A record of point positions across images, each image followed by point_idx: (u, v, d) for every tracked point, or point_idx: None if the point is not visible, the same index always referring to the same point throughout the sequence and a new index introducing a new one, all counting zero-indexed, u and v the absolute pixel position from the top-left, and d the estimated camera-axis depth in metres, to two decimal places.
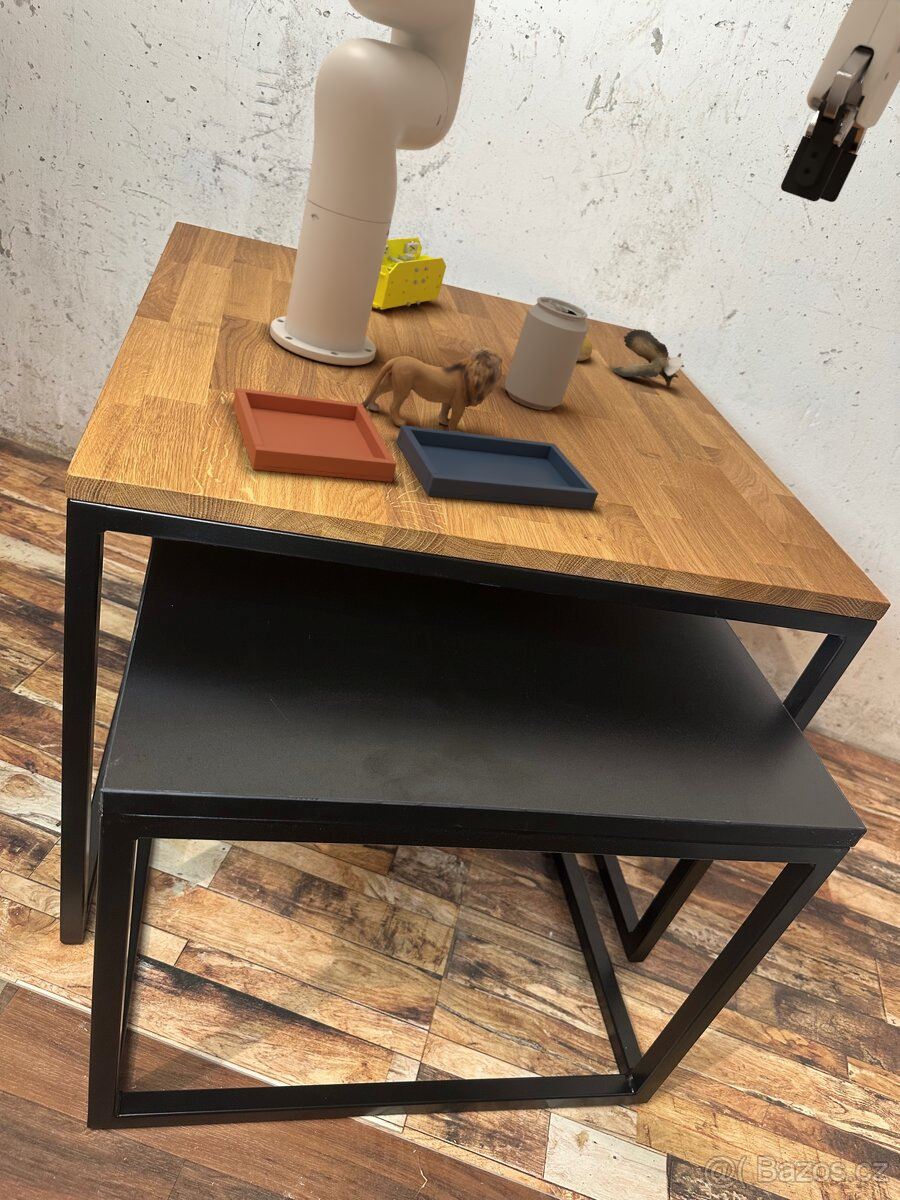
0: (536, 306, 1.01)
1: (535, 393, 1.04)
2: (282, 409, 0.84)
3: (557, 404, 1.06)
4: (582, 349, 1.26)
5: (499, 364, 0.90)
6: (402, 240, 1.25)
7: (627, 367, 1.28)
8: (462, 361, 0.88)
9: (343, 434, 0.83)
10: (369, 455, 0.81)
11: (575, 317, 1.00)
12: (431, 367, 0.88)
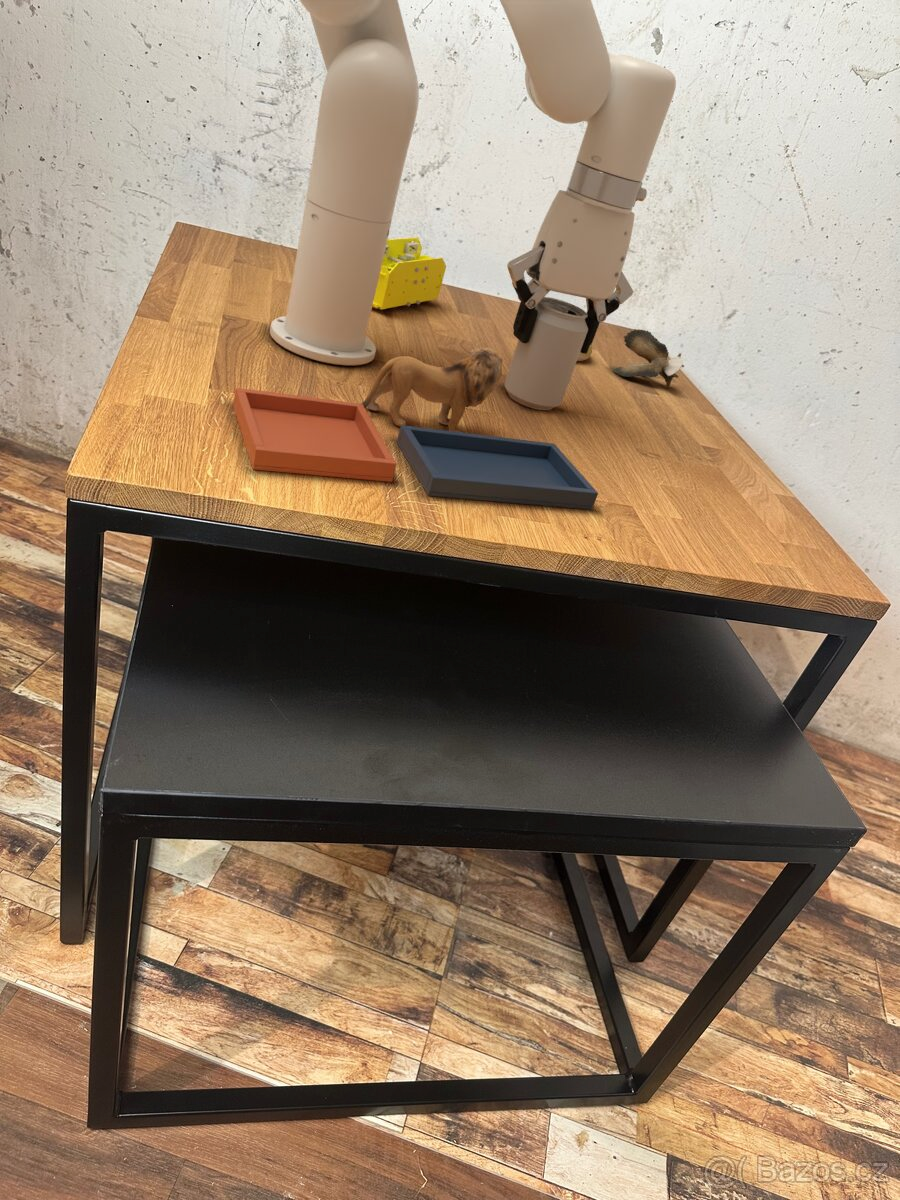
0: (536, 306, 1.01)
1: (535, 393, 1.04)
2: (282, 409, 0.84)
3: (557, 404, 1.06)
4: None
5: (499, 364, 0.90)
6: (402, 240, 1.25)
7: (627, 367, 1.28)
8: (462, 361, 0.88)
9: (343, 434, 0.83)
10: (369, 455, 0.81)
11: (575, 317, 1.00)
12: (431, 367, 0.88)
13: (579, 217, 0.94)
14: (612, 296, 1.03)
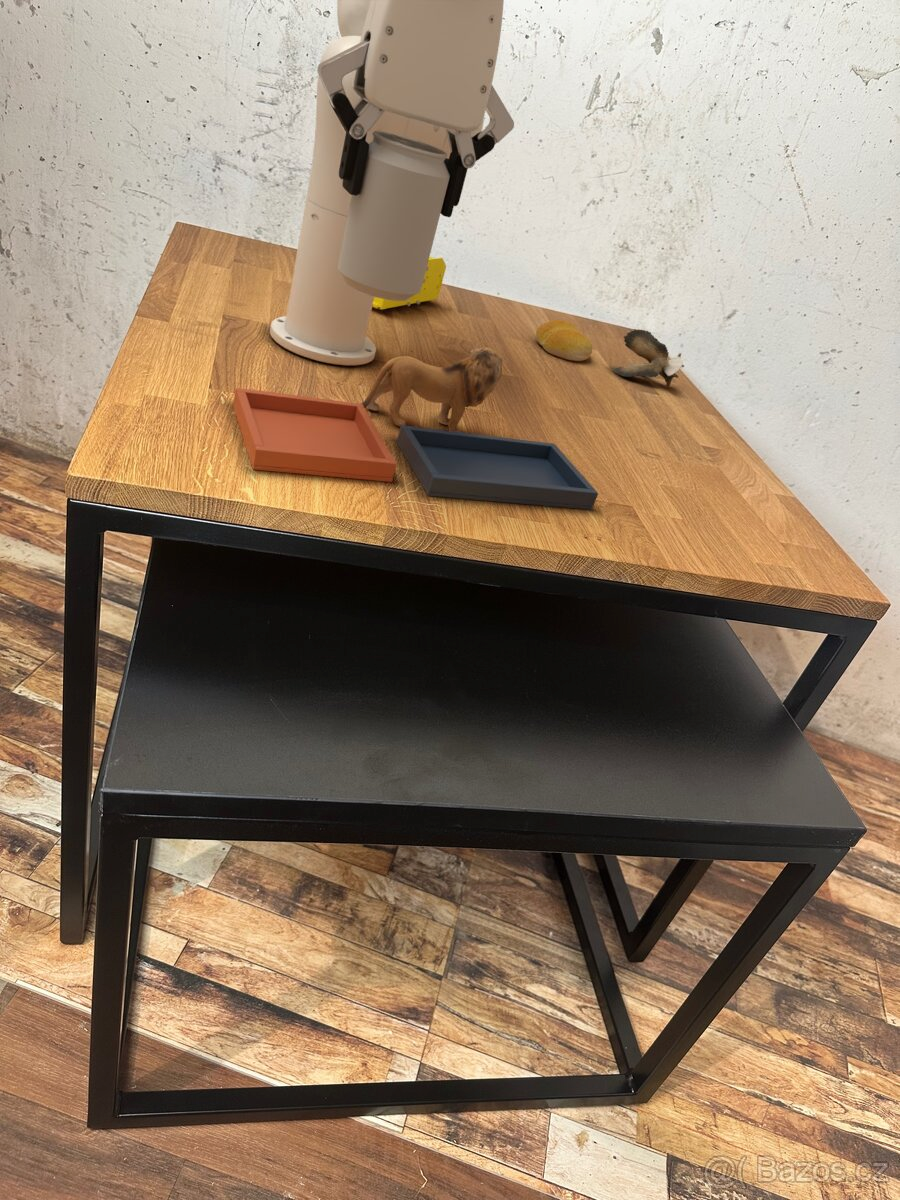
0: None
1: (376, 272, 0.72)
2: (282, 409, 0.84)
3: (412, 292, 0.74)
4: (582, 349, 1.26)
5: (499, 364, 0.90)
6: None
7: (627, 367, 1.28)
8: (462, 361, 0.88)
9: (343, 434, 0.83)
10: (369, 455, 0.81)
11: (425, 153, 0.68)
12: (431, 367, 0.88)
13: None
14: (484, 131, 0.71)
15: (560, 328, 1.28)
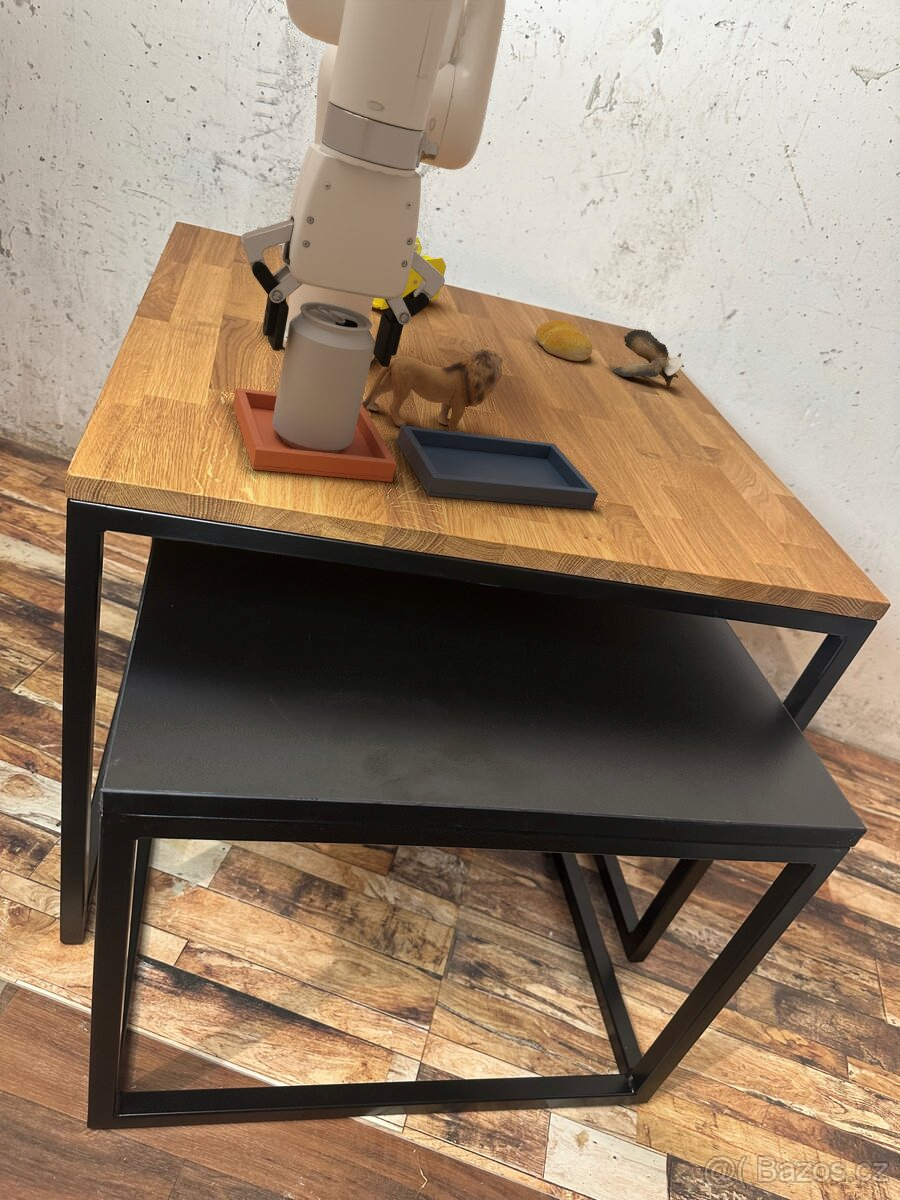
0: (299, 314, 0.74)
1: (305, 432, 0.76)
2: None
3: (341, 447, 0.78)
4: (582, 349, 1.26)
5: (499, 364, 0.90)
6: None
7: (627, 367, 1.28)
8: (462, 361, 0.88)
9: None
10: (369, 455, 0.81)
11: (348, 330, 0.72)
12: (431, 367, 0.88)
13: (333, 181, 0.66)
14: (419, 289, 0.75)
15: (560, 328, 1.28)
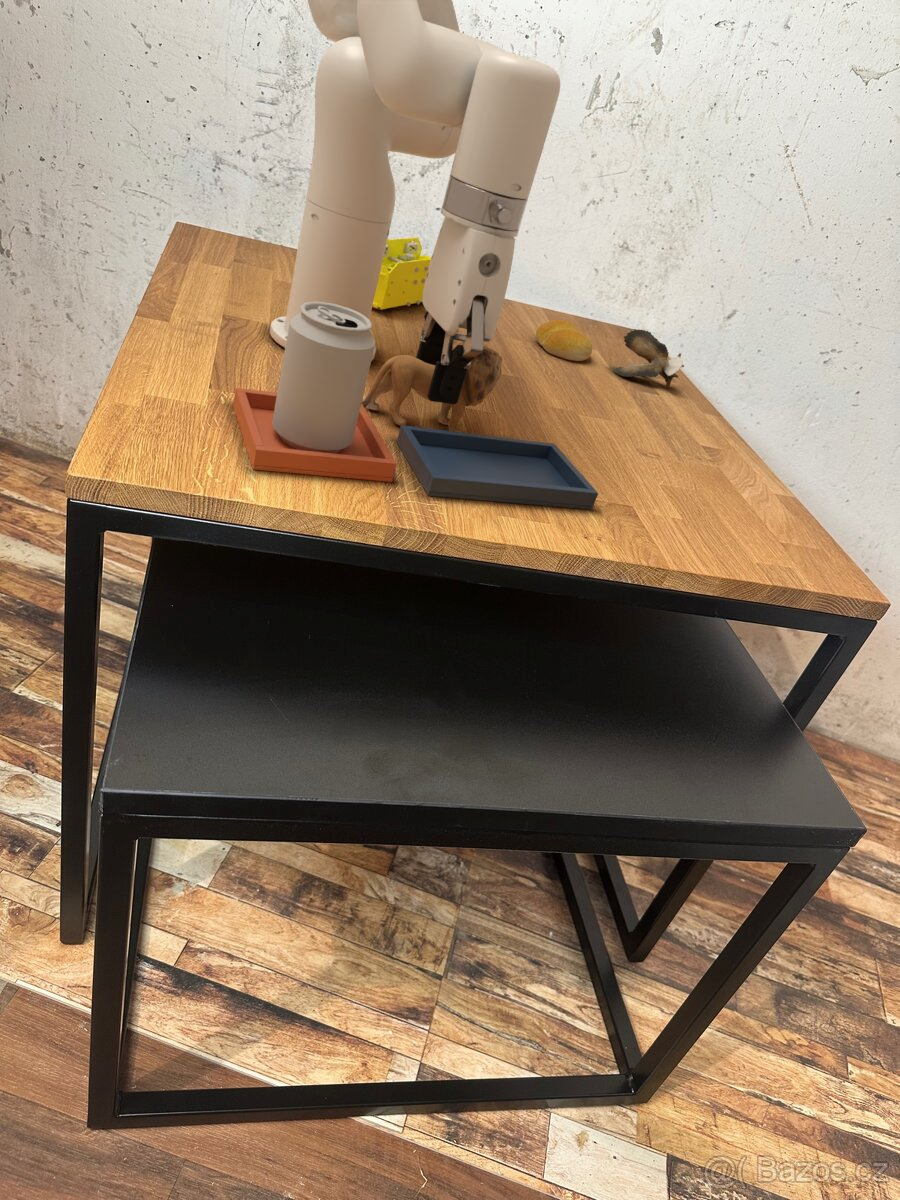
0: (299, 314, 0.74)
1: (305, 432, 0.76)
2: None
3: (341, 447, 0.78)
4: (582, 349, 1.26)
5: (499, 363, 0.90)
6: (402, 240, 1.25)
7: (627, 367, 1.28)
8: None
9: None
10: (369, 455, 0.81)
11: (348, 330, 0.72)
12: (431, 366, 0.88)
13: (443, 226, 0.84)
14: None
15: (560, 328, 1.28)
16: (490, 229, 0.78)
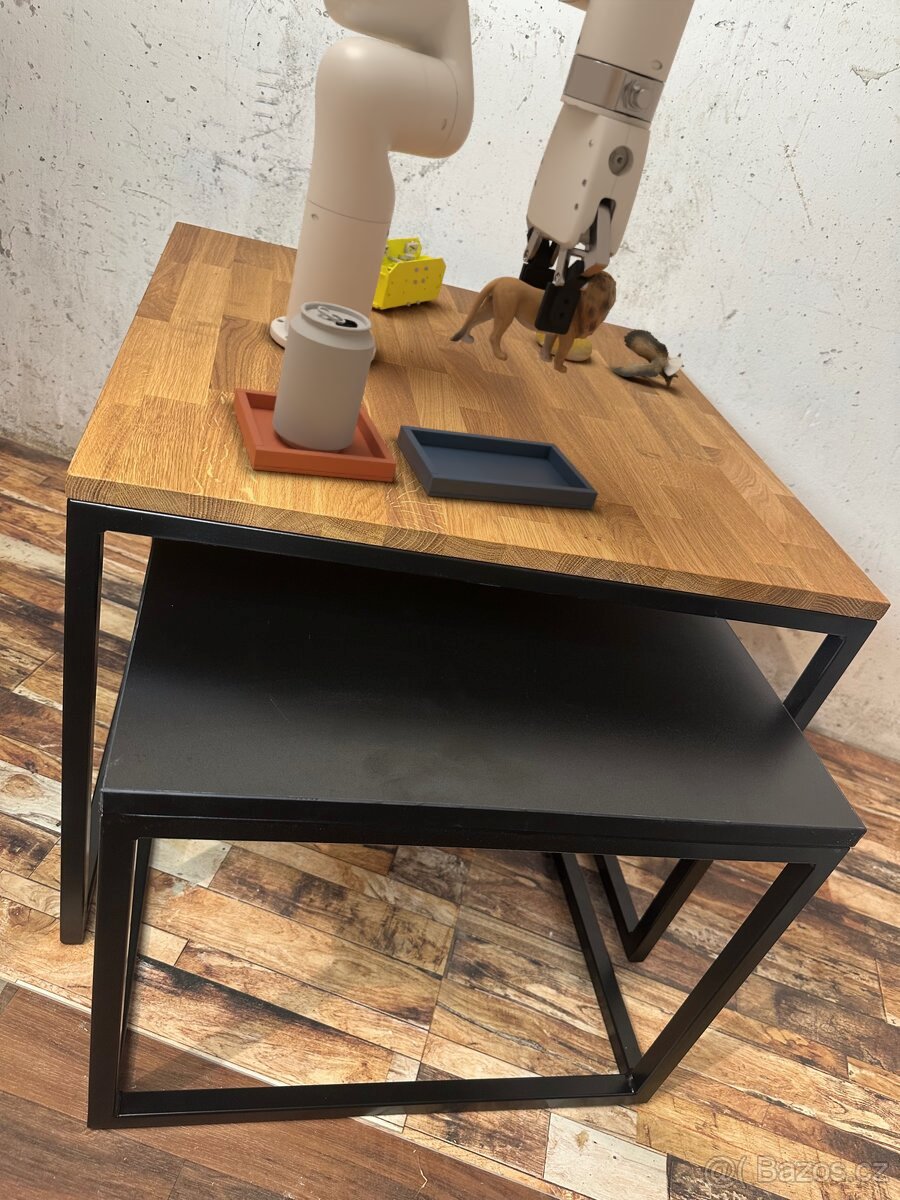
0: (299, 314, 0.74)
1: (305, 432, 0.76)
2: None
3: (341, 447, 0.78)
4: (582, 349, 1.26)
5: (614, 288, 0.78)
6: (402, 240, 1.25)
7: (627, 367, 1.28)
8: None
9: None
10: (369, 455, 0.81)
11: (348, 330, 0.72)
12: (538, 290, 0.76)
13: (558, 122, 0.71)
14: None
15: None
16: (623, 117, 0.66)
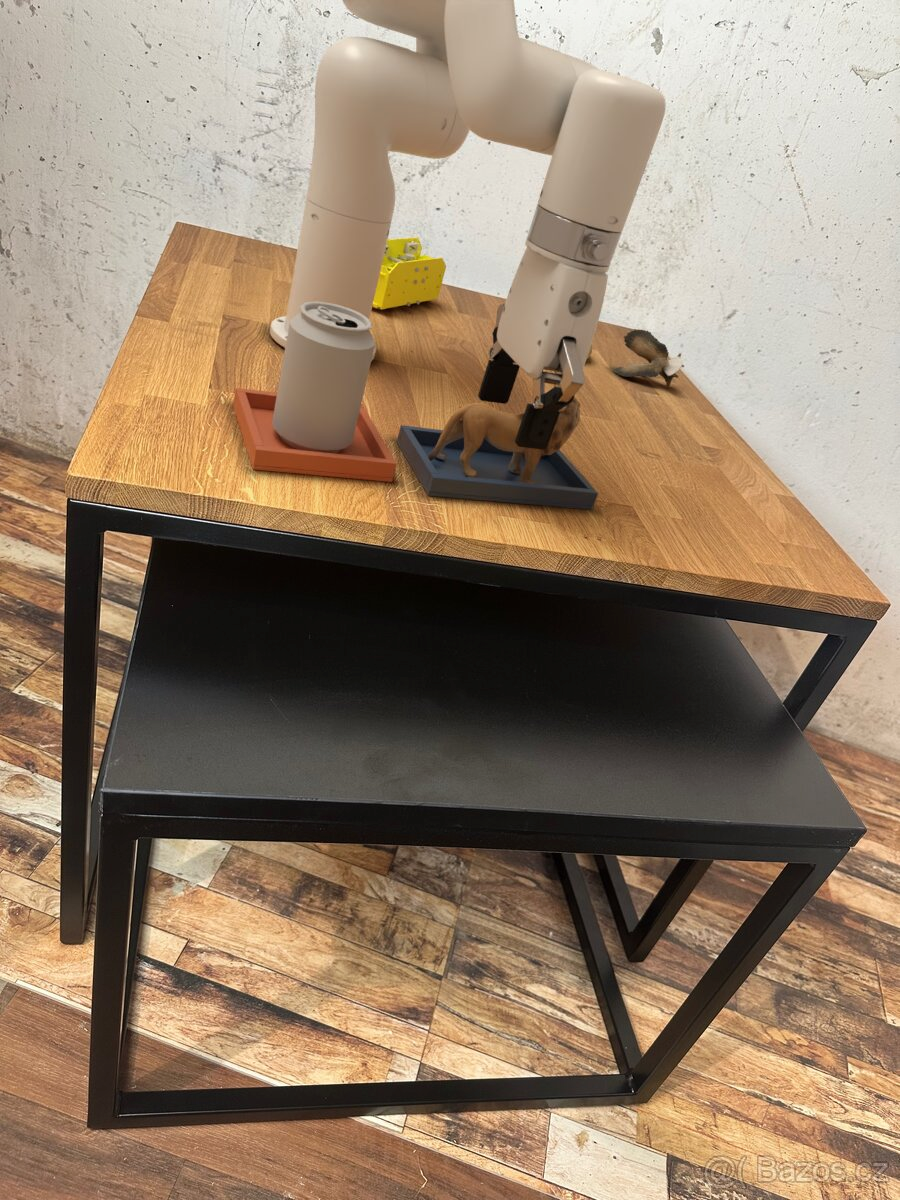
0: (299, 314, 0.74)
1: (305, 432, 0.76)
2: None
3: (341, 447, 0.78)
4: None
5: (577, 410, 0.83)
6: (402, 240, 1.25)
7: (627, 367, 1.28)
8: None
9: None
10: (369, 455, 0.81)
11: (348, 330, 0.72)
12: (505, 414, 0.81)
13: (524, 259, 0.77)
14: None
15: None
16: (582, 265, 0.72)
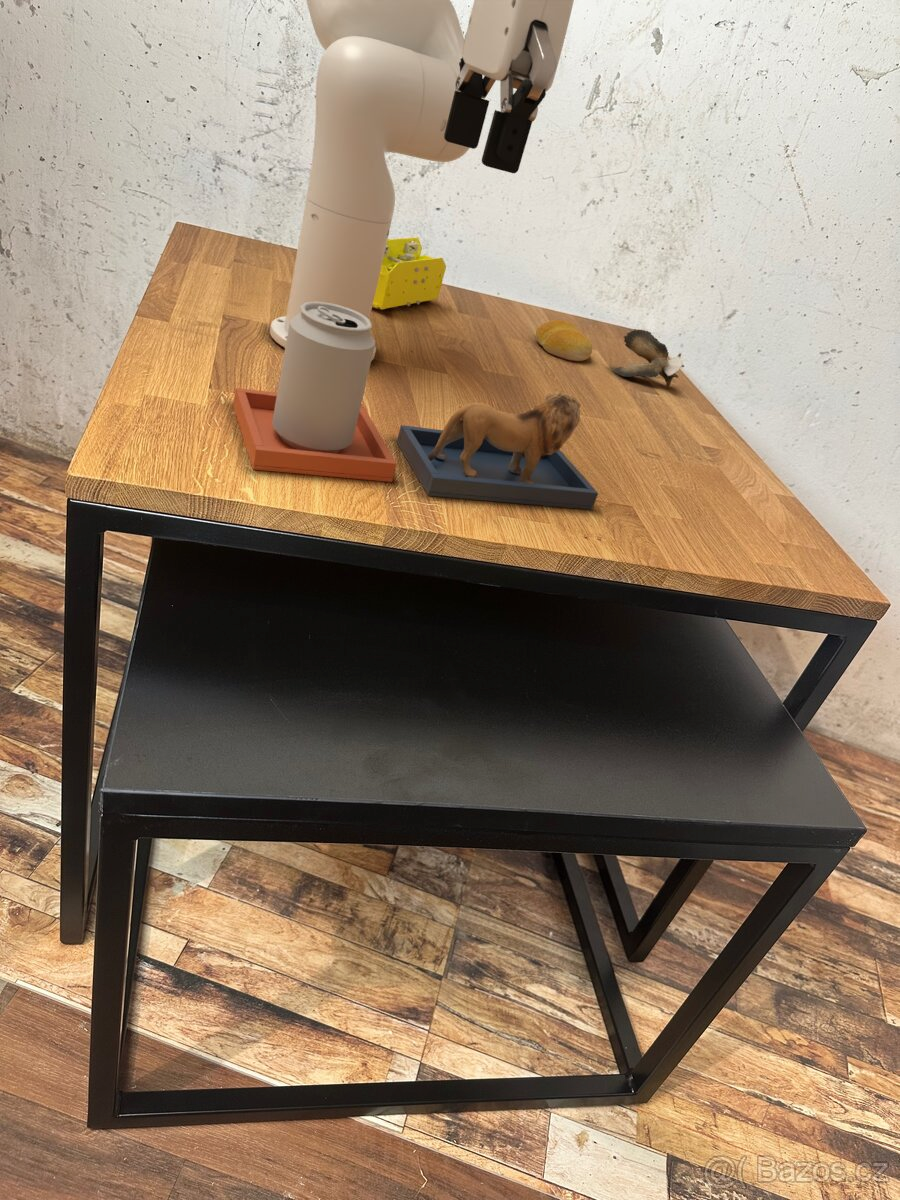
0: (299, 314, 0.74)
1: (305, 432, 0.76)
2: None
3: (341, 447, 0.78)
4: (582, 349, 1.26)
5: (577, 410, 0.83)
6: (402, 240, 1.25)
7: (627, 367, 1.28)
8: (539, 408, 0.82)
9: None
10: (369, 455, 0.81)
11: (348, 330, 0.72)
12: (505, 414, 0.81)
13: None
14: None
15: (560, 328, 1.28)
16: None
